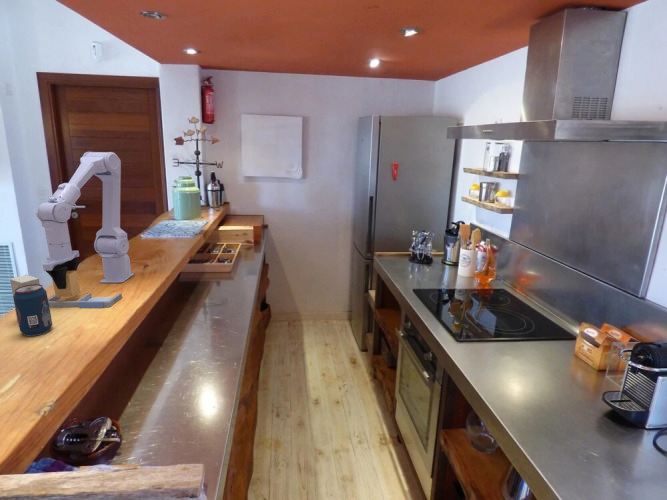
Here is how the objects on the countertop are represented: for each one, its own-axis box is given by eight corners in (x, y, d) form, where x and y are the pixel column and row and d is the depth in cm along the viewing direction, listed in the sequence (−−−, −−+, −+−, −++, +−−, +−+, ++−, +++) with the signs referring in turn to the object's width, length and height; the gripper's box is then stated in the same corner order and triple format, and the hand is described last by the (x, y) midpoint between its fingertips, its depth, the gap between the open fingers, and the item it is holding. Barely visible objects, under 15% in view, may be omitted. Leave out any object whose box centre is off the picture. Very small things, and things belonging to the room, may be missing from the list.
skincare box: (16, 320, 114) (8, 278, 111) (34, 314, 118) (26, 274, 115) (29, 325, 112) (20, 282, 109) (47, 319, 115) (39, 277, 112)
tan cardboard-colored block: (63, 292, 129) (59, 270, 128) (79, 292, 130) (76, 270, 128) (55, 296, 126) (51, 274, 124) (72, 296, 126) (68, 274, 124)
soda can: (22, 328, 110) (14, 285, 107) (54, 323, 113) (46, 281, 110) (19, 339, 104) (9, 294, 101) (52, 333, 107) (43, 289, 104)
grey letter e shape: (57, 297, 131) (56, 292, 130) (122, 297, 131) (121, 292, 131) (40, 308, 123) (39, 302, 122) (109, 307, 123) (108, 302, 123)
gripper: (60, 236, 130) (67, 278, 134) (28, 249, 116) (37, 294, 120) (83, 236, 130) (89, 278, 134) (54, 249, 116) (62, 294, 120)
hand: (66, 285), depth 127 cm, fingers closed on tan cardboard-colored block, 4 cm apart
